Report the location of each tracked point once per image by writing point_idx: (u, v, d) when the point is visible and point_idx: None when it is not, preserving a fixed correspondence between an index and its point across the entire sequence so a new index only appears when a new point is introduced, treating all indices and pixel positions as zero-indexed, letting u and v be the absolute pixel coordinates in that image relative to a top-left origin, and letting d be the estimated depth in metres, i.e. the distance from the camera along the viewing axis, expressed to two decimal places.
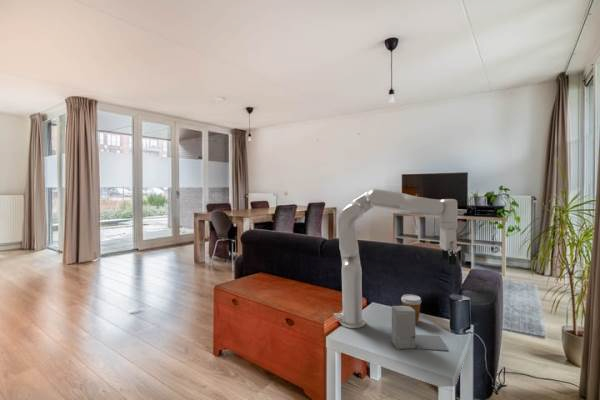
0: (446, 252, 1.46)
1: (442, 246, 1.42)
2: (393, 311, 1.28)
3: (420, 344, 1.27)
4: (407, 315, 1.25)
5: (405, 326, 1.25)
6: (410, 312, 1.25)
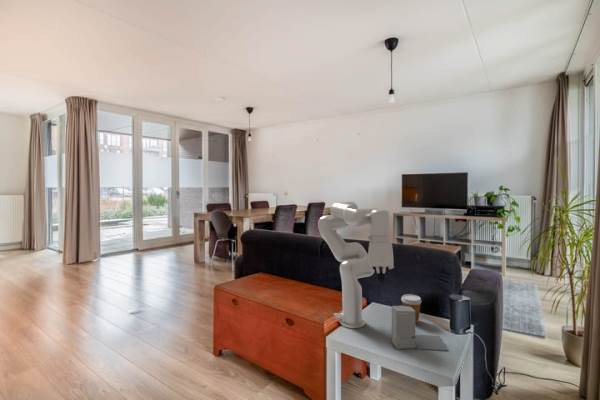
0: None
1: (382, 263, 1.25)
2: (393, 311, 1.28)
3: (420, 344, 1.27)
4: (407, 315, 1.25)
5: (405, 326, 1.25)
6: (410, 312, 1.25)
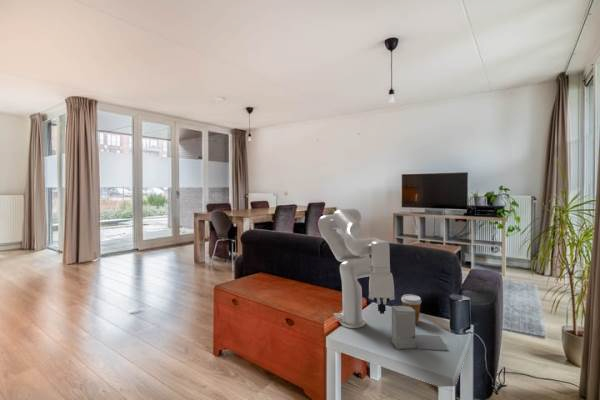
0: (381, 304, 1.29)
1: (383, 295, 1.26)
2: (393, 311, 1.28)
3: (420, 344, 1.27)
4: (407, 315, 1.25)
5: (405, 326, 1.25)
6: (410, 312, 1.25)
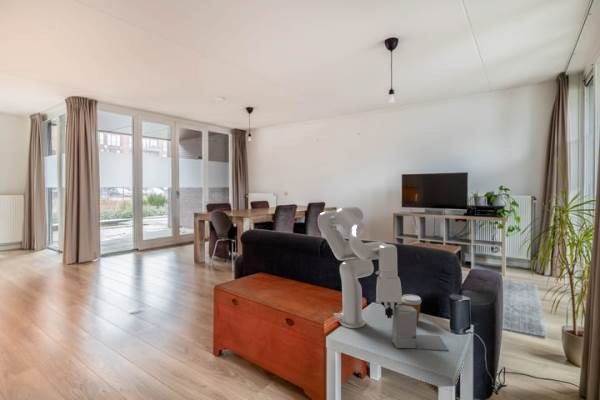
0: None
1: (390, 299, 1.25)
2: (395, 310, 1.28)
3: (420, 344, 1.27)
4: (409, 315, 1.25)
5: (406, 326, 1.25)
6: (412, 312, 1.25)
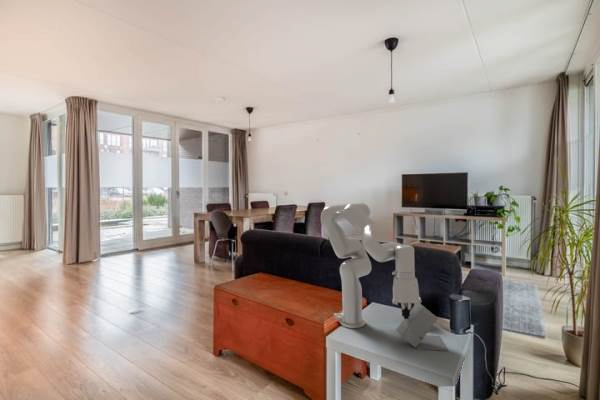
0: (405, 309, 1.28)
1: (408, 300, 1.24)
2: (417, 306, 1.29)
3: (420, 344, 1.27)
4: (429, 317, 1.25)
5: (420, 324, 1.25)
6: (433, 316, 1.25)
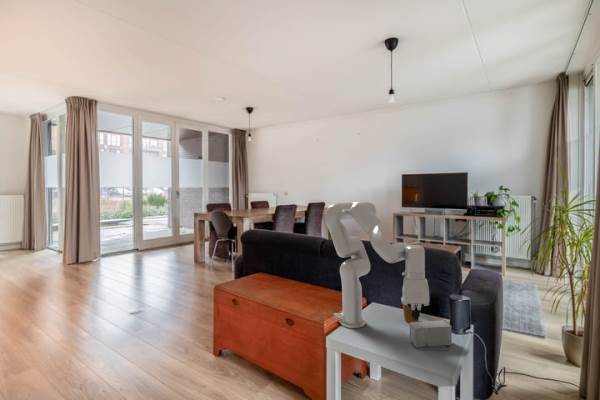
0: None
1: (418, 300, 1.24)
2: (443, 322, 1.29)
3: None
4: (447, 337, 1.26)
5: (436, 336, 1.25)
6: (450, 340, 1.26)
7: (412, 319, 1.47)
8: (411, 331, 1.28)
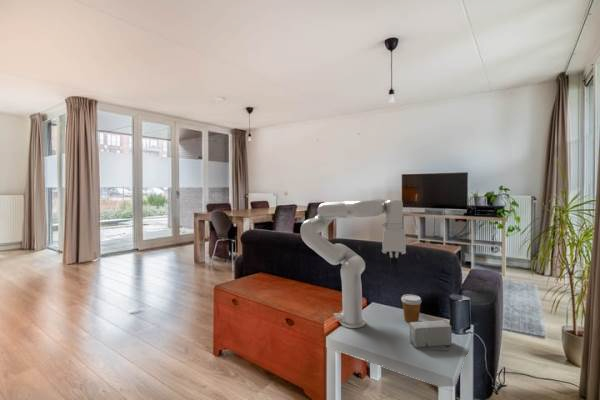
0: None
1: (395, 248, 1.37)
2: (443, 322, 1.29)
3: None
4: (447, 337, 1.26)
5: (436, 336, 1.25)
6: (450, 340, 1.26)
7: (412, 319, 1.47)
8: (411, 331, 1.28)
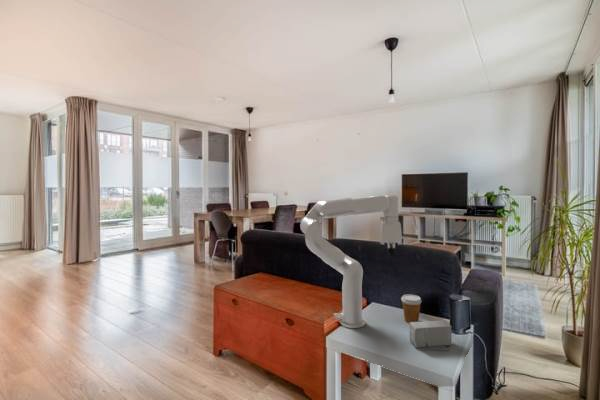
0: None
1: (392, 239, 1.51)
2: (443, 322, 1.29)
3: None
4: (447, 337, 1.26)
5: (436, 336, 1.25)
6: (450, 340, 1.26)
7: (412, 319, 1.47)
8: (411, 331, 1.28)
